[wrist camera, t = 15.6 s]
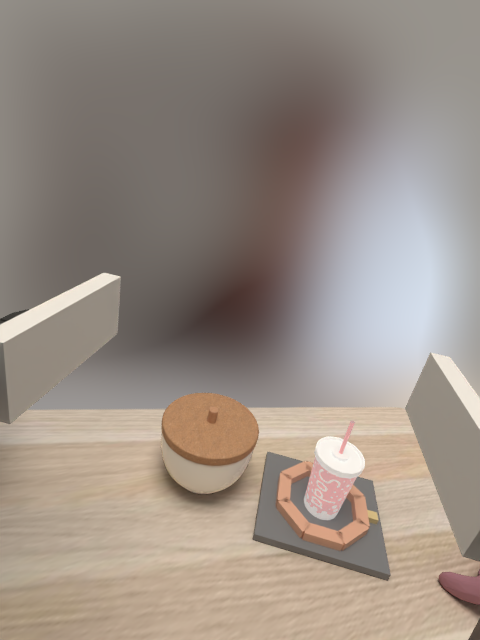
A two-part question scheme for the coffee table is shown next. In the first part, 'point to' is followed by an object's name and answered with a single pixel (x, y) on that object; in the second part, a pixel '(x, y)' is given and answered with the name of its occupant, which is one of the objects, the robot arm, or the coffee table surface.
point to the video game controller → (462, 586)
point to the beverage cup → (332, 475)
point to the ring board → (313, 533)
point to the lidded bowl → (207, 441)
